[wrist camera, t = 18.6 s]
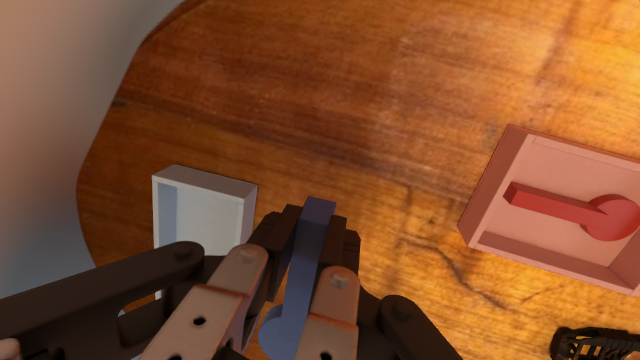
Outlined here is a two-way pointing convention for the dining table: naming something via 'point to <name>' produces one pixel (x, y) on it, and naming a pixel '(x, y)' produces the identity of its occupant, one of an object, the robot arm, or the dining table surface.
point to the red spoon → (581, 210)
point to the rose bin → (546, 231)
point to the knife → (594, 344)
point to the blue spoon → (297, 282)
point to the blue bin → (201, 209)
